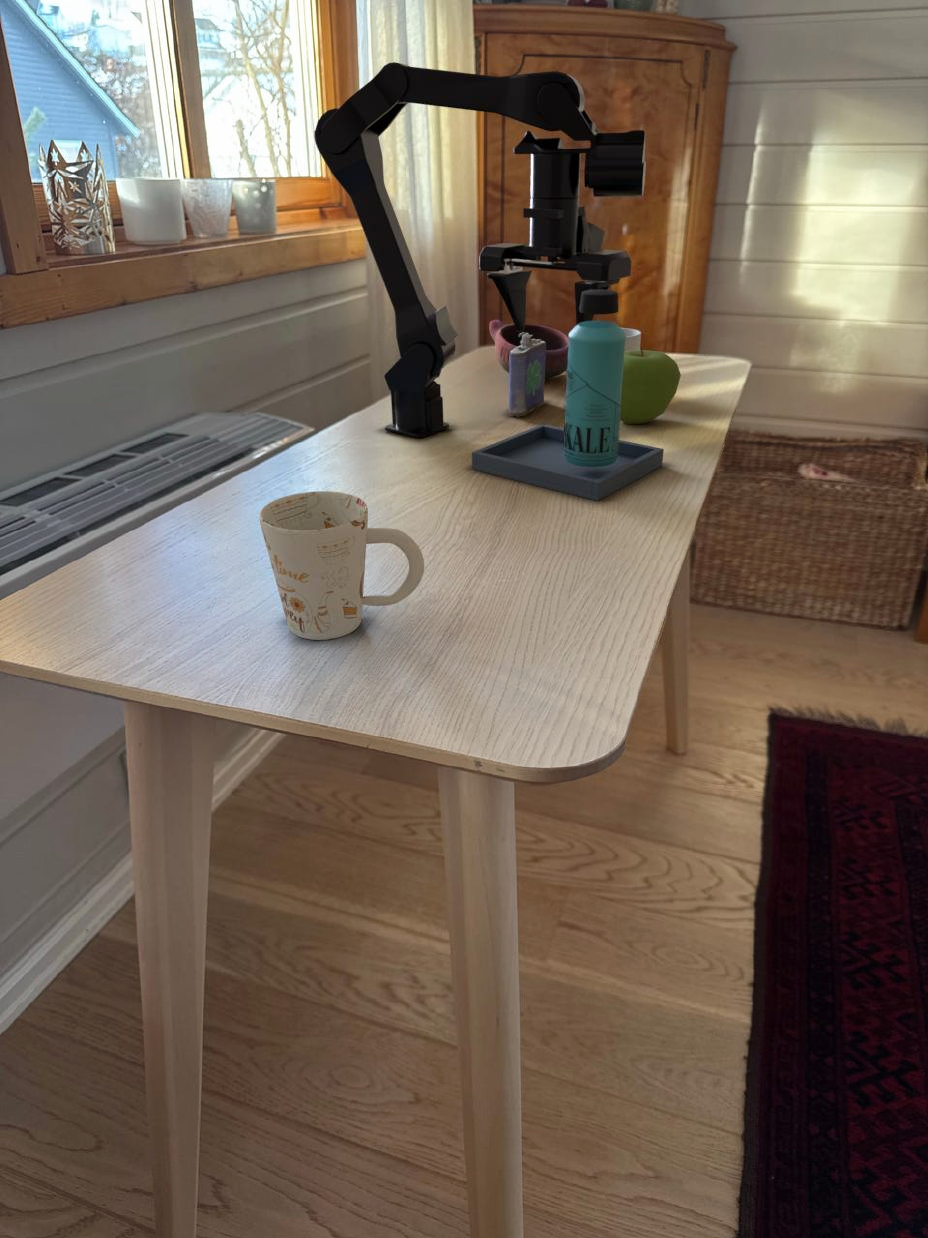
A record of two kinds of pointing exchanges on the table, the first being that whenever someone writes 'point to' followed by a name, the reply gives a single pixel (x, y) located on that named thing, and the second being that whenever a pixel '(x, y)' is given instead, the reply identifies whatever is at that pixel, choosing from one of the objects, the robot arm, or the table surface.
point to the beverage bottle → (594, 384)
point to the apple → (647, 385)
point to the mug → (328, 561)
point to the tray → (563, 463)
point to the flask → (526, 375)
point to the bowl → (510, 339)
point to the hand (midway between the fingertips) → (550, 334)
